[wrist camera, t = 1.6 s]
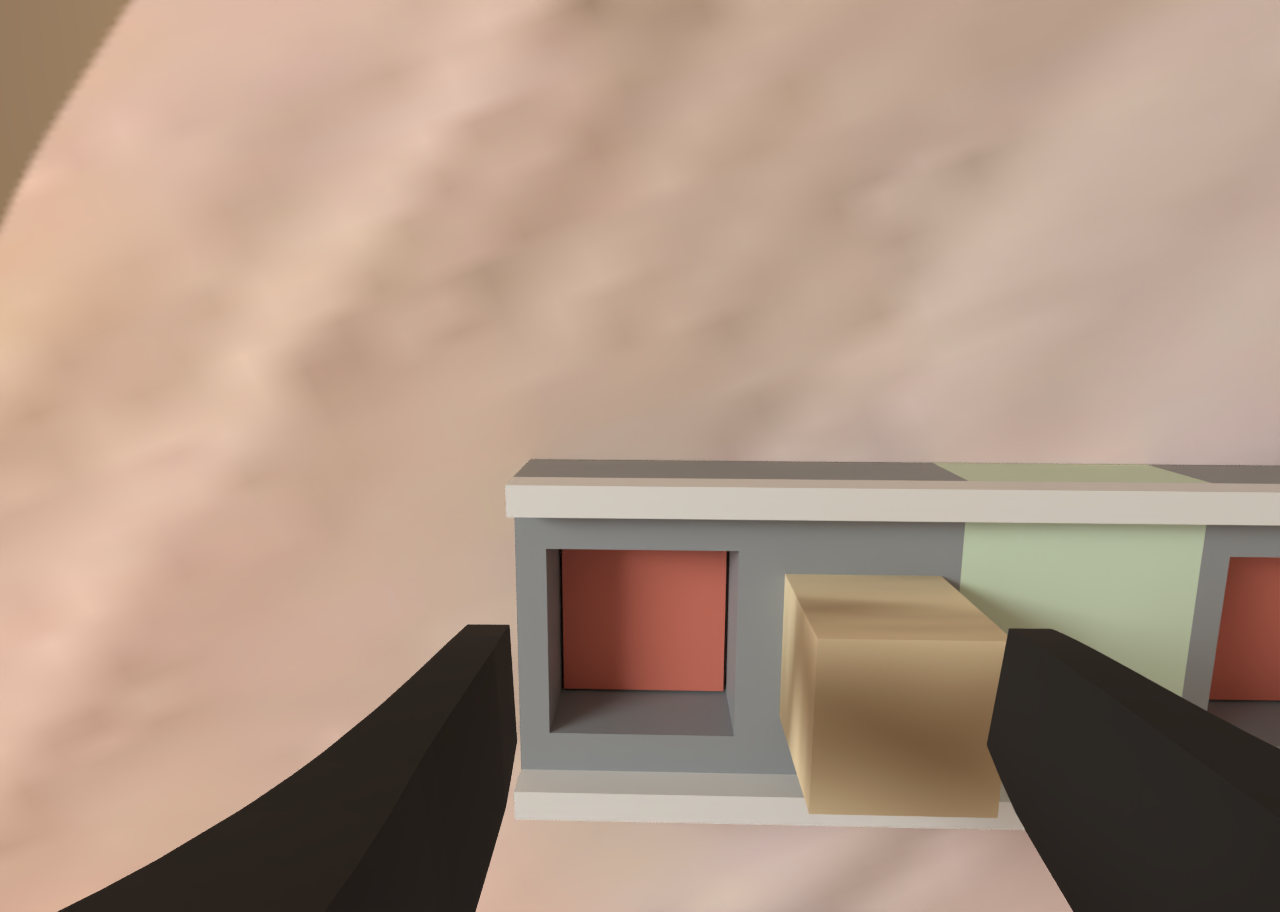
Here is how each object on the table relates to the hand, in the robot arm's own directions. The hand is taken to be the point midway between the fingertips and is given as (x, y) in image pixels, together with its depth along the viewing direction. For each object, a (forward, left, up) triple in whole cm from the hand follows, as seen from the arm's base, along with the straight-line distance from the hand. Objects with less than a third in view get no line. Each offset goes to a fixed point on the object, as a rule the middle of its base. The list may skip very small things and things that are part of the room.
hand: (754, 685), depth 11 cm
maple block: (-3, -4, -8) cm, 10 cm away
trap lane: (-3, -7, -11) cm, 13 cm away
